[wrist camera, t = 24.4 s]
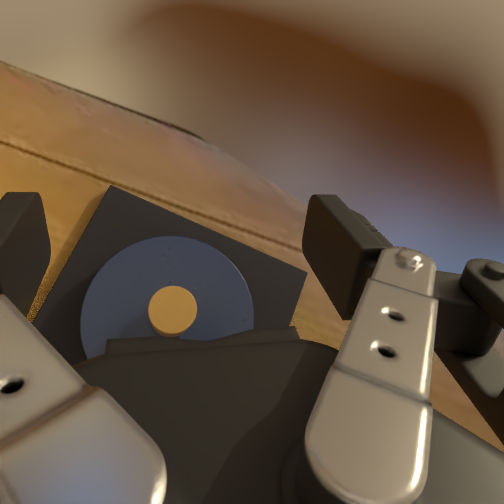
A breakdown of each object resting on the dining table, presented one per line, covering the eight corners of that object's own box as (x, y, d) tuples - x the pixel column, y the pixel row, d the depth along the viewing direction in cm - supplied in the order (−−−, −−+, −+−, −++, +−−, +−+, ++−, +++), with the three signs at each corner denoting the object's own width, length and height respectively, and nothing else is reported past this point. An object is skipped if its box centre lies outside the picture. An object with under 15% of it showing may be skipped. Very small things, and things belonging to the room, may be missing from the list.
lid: (217, 220, 32) (230, 189, 26) (274, 364, 30) (302, 366, 24) (60, 270, 28) (33, 248, 22) (114, 437, 26) (100, 460, 20)
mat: (305, 273, 33) (307, 272, 32) (238, 463, 28) (240, 466, 27) (111, 187, 31) (110, 184, 30) (5, 374, 26) (2, 374, 26)
